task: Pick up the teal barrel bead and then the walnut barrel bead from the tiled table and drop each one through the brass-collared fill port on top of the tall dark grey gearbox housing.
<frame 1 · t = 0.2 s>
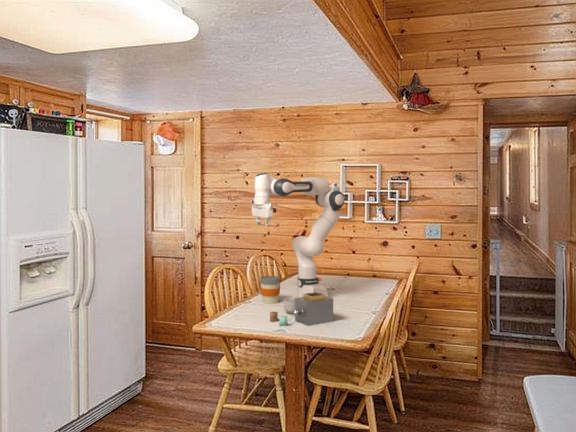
hand: (262, 225, 299), 48 cm above the table, fingers open, 8 cm apart
reusable coffee cup: (270, 302, 313), on the table
bead teal: (283, 325, 263), on the table
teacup: (295, 312, 289), on the table
bead walnut: (273, 320, 272), on the table
gearbox: (314, 320, 272), on the table
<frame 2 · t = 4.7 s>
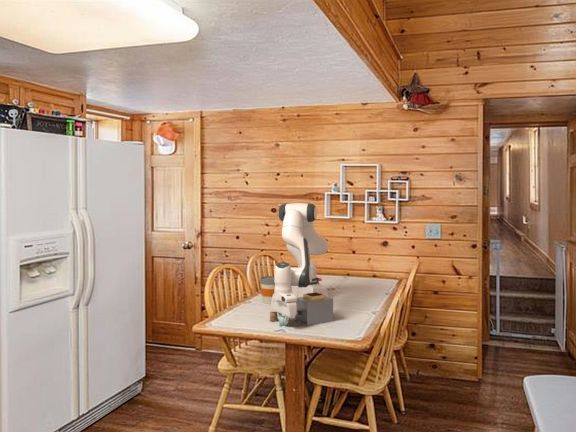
hand: (283, 322, 263), 2 cm above the table, fingers closed on bead teal, 4 cm apart
bead teal: (283, 325, 263), on the table, touching gripper
everything else where it was.
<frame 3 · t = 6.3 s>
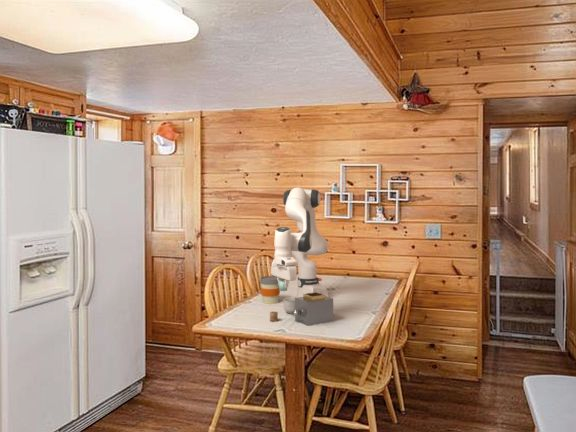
hand: (283, 286, 262), 20 cm above the table, fingers closed on bead teal, 4 cm apart
bead teal: (283, 290, 262), point 18 cm above the table, touching gripper
everything else where it was.
when the fingers open (17 cm above the table, at t = 8.1 s): bead teal drops 13 cm and tips over, resting on gearbox.
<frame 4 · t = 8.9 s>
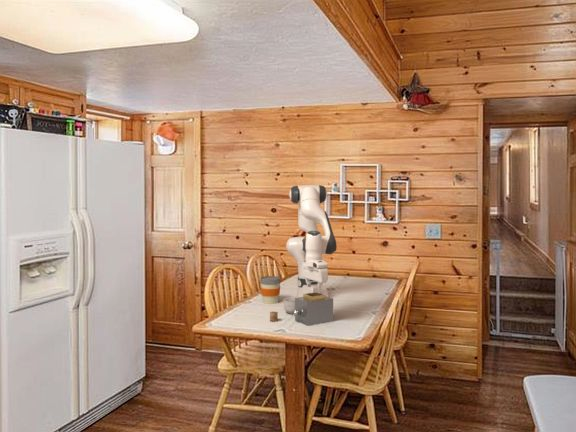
hand: (314, 288, 270), 17 cm above the table, fingers open, 8 cm apart
bead teal: (314, 316, 271), point 2 cm above the table, tilted 48°, touching gearbox
everything else where it was.
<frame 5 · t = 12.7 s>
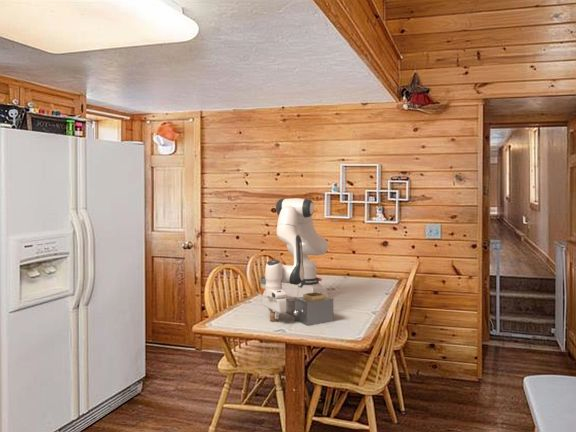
hand: (273, 317, 272), 2 cm above the table, fingers closed on bead walnut, 4 cm apart
bead walnut: (273, 320, 272), on the table, touching gripper
everything else where it was.
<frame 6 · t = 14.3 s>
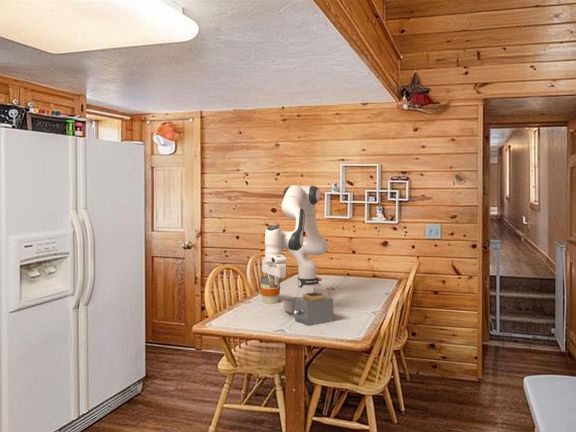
hand: (273, 283, 271), 20 cm above the table, fingers closed on bead walnut, 4 cm apart
bead walnut: (273, 286, 271), point 18 cm above the table, touching gripper
everything else where it was.
when the fingers open (17 cm above the table, at t = 16.3 s): bead walnut drops 11 cm and tips over, resting on bead teal, gearbox.
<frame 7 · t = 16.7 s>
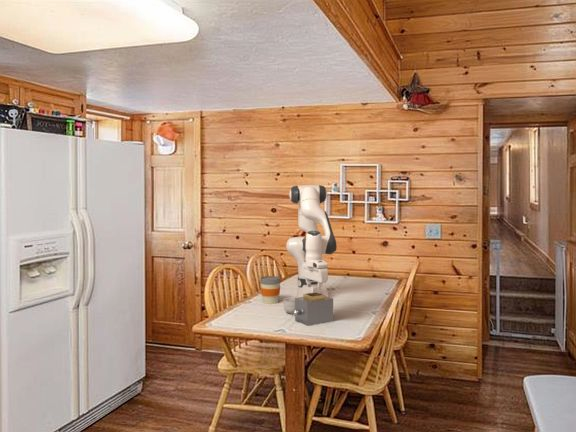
hand: (314, 288, 270), 17 cm above the table, fingers open, 8 cm apart
bead teal: (314, 316, 271), point 2 cm above the table, tilted 48°, touching bead walnut, gearbox
bead walnut: (312, 312, 272), point 4 cm above the table, tilted 33°, touching bead teal, gearbox
everything else where it was.
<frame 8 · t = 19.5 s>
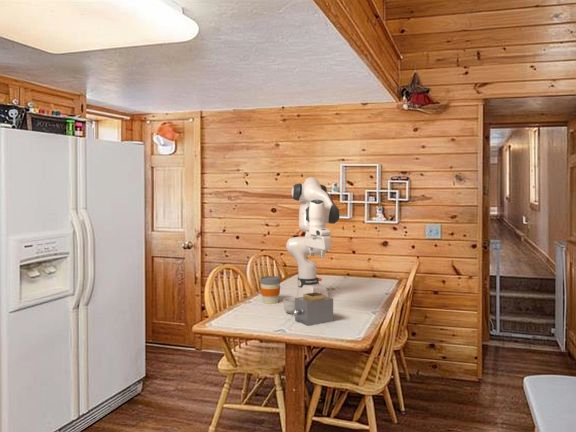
hand: (317, 256, 274), 33 cm above the table, fingers open, 8 cm apart
nothing on the table moved.
at the end: bead teal inside the target area on the gearbox (0.4 cm from its centre), point 2.5 cm above the gearbox's base; bead walnut inside the target area on the gearbox (1.0 cm from its centre), point 4.3 cm above the gearbox's base; the gripper is holding nothing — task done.
